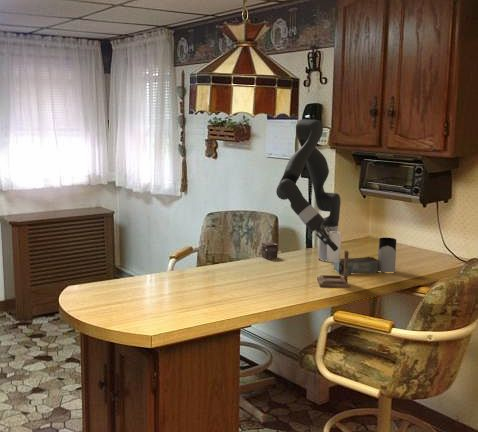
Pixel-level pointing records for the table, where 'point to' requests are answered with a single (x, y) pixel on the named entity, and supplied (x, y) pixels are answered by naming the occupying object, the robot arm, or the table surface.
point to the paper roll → (336, 238)
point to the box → (269, 250)
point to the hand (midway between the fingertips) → (338, 248)
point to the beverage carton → (358, 265)
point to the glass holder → (387, 254)
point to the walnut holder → (336, 277)
